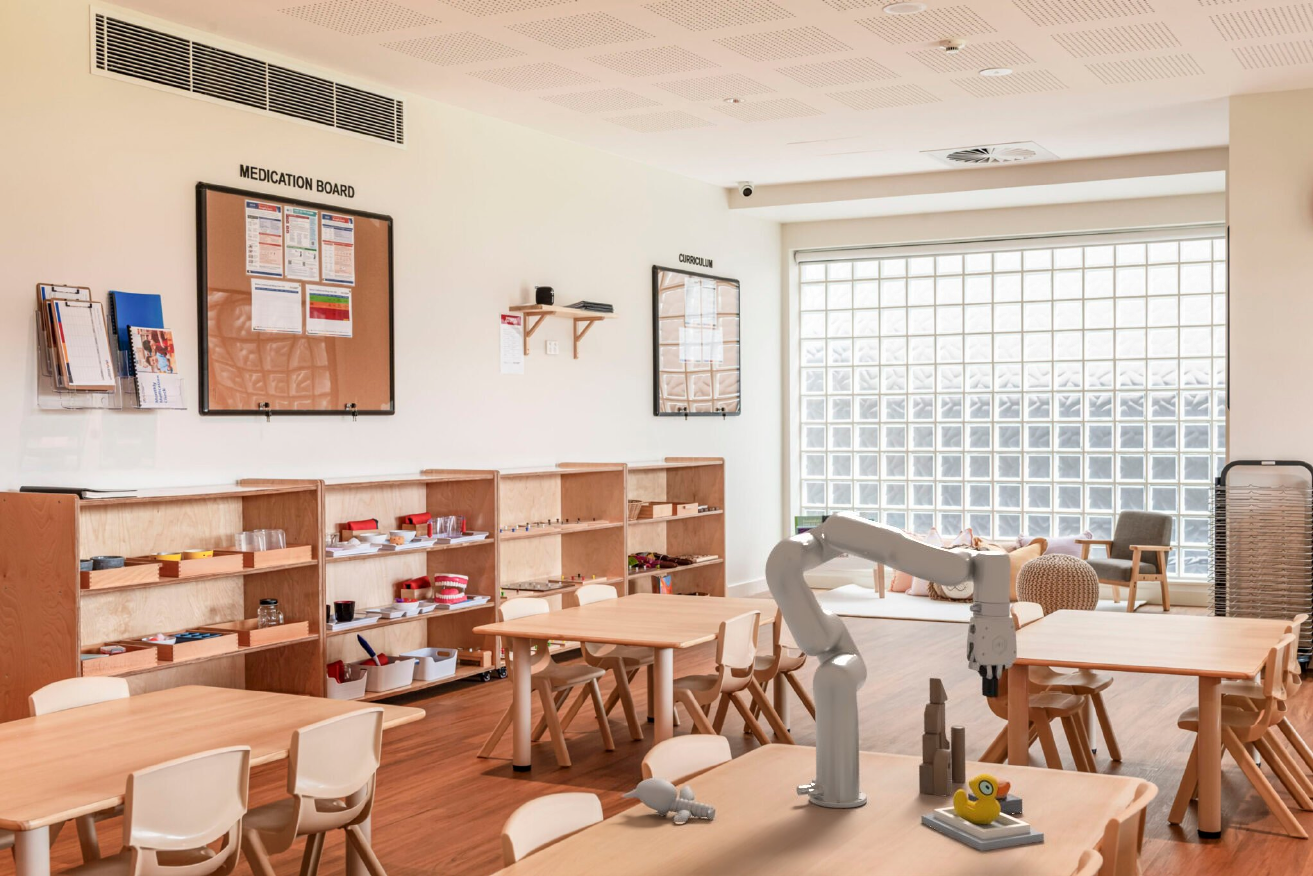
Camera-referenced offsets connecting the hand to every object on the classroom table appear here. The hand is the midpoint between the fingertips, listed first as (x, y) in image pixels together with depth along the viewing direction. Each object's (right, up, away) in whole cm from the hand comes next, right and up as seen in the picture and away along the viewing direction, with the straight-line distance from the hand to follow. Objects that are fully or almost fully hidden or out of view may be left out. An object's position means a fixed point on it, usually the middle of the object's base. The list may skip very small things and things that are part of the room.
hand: (990, 696), depth 262 cm
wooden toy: (-4, -26, +23) cm, 35 cm away
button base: (+2, -25, +4) cm, 26 cm away
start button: (+2, -22, +4) cm, 23 cm away
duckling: (-5, -24, -10) cm, 26 cm away
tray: (-5, -25, -11) cm, 28 cm away
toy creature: (-68, -26, +2) cm, 73 cm away
